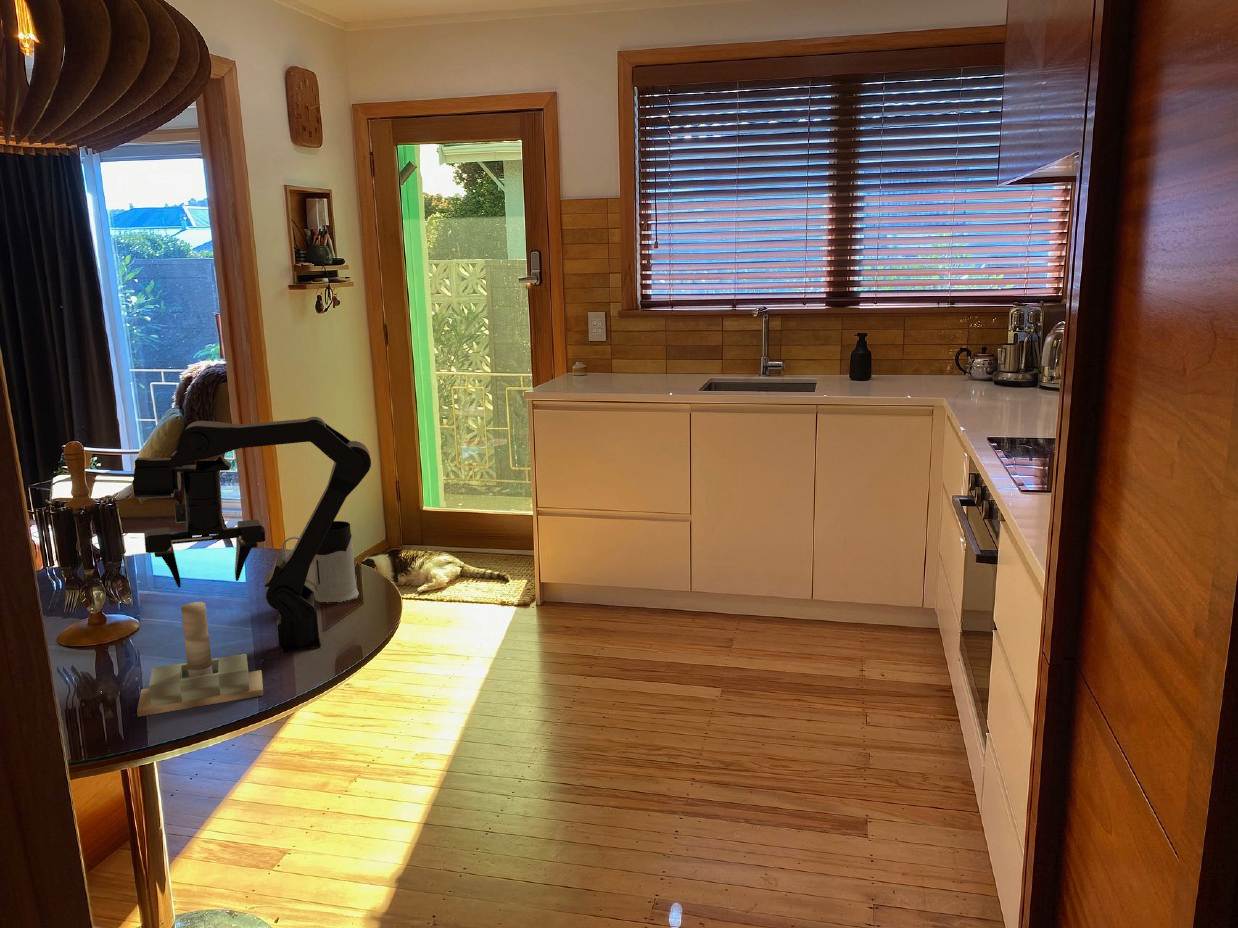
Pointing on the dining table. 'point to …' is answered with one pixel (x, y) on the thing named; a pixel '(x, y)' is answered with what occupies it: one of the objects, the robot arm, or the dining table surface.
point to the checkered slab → (199, 686)
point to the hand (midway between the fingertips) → (208, 583)
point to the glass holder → (334, 565)
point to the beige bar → (196, 639)
